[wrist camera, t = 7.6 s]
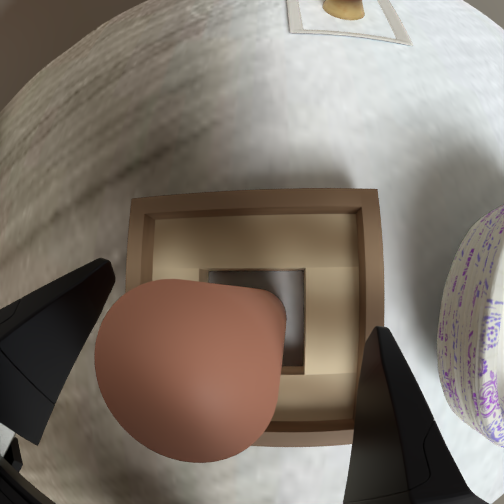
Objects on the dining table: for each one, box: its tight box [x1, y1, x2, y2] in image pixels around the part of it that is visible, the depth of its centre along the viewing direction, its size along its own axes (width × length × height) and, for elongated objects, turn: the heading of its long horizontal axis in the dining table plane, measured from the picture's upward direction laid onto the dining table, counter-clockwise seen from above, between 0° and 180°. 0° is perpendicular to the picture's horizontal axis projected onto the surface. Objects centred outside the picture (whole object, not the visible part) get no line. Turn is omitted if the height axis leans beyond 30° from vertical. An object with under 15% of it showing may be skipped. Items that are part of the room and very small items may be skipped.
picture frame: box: [126, 188, 384, 447], centre depth 16 cm, size 14×14×4 cm
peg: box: [95, 279, 287, 463], centre depth 11 cm, size 4×4×13 cm
